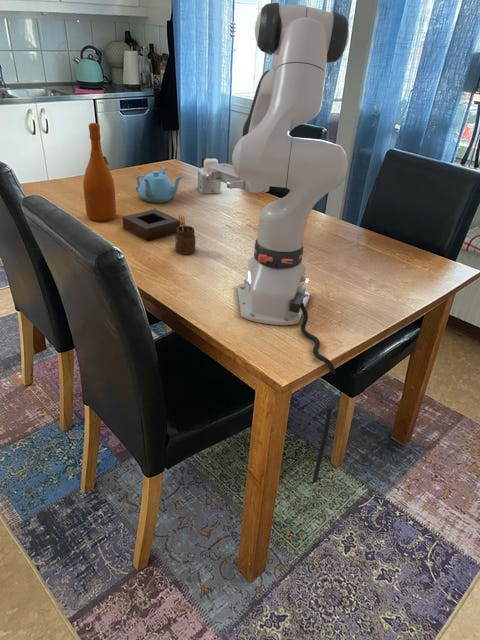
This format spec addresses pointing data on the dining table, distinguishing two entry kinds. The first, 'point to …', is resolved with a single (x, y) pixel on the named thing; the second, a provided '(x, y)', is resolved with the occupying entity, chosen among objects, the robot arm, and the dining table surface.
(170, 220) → the socket block
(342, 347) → the dining table surface
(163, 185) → the teapot
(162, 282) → the dining table surface
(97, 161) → the wine bottle
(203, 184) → the container
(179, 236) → the utensil holder
